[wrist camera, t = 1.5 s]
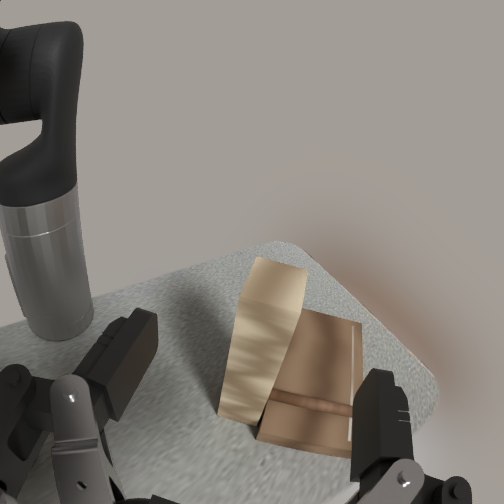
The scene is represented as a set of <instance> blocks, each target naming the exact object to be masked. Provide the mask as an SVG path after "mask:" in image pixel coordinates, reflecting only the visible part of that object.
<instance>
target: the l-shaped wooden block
mask: <svg viewBox="0 0 504 504" xmlns="http://www.w3.org/2000/svg"><path fill="white" fill-rule="evenodd" d="M307 273H308V270H305V269H301V268H298V267H294V266H290V265H286V264H283V263H279V262H275V261H272V260H268V259H264V258H261V257H256V260H255V262H254V264H253V267H252V269H251V271H250V273H249V276H248V278H247V280H246V283H245V285H244V287H243V290H242V292H241V294H240V297H239V302H238V308H237V313H236V318H235V323H234V329H233V334H232V339H231V345H230V350H229V355H228V360H227V366H226V371H225V376H224V382H223V387H222V392H221V398H220V403H219V408H218V414H217V415H218V416H221V417H224V418H227V419H231V420H234V421H237V422H241V423H244V424H248V425H252V426H255V427H256V426H257V424H258V421H259V419H260V417H261V414H262V412H263V409H264V407H265V405H266V402H267V400H268V399H269V400H273V401H277V402H281V403H285V404H289V405H293V406H297V407H302V408H306V409H311V410H315V411H320V412H325V413H330V414H335V415H340V416H346V417H350V418H352V406H350V405H345V404H340V403H335V402H330V401H325V400H321V399H316V398H311V397H307V396H303V395H299V394H294V393H290V392H286V391H282V390H278V389H275V388H272V387H273V385H274V382H275V380H276V377H277V375H278V372H279V370H280V367H281V365H282V362H283V360H284V357H285V354H286V352H287V349H288V346H289V344H290V341H291V338H292V336H293V333H294V330H295V328H296V325H297V322H298V319H299V317H300V314H301V309H302V303H303V298H304V292H305V286H306V280H307Z"/></svg>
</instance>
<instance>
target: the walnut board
mask: <svg viewBox="0 0 504 504" xmlns="http://www.w3.org/2000/svg"><path fill="white" fill-rule="evenodd" d="M362 383H363V355H362V323H358V322H354V321H350V320H346V319H342V318H338V317H334V316H330V315H327V314H323V313H319V312H315V311H311V310H307V309H304V308H302V309H301V314H300V317H299V319H298V322H297V325H296V328H295V330H294V333H293V336H292V338H291V341H290V344H289V346H288V349H287V352H286V354H285V357H284V360H283V362H282V365H281V367H280V370H279V372H278V375H277V377H276V380H275V382H274V385H273V387H272V388H275V389H278V390H282V391H286V392H290V393H294V394H299V395H303V396H307V397H311V398H316V399H321V400H325V401H330V402H335V403H340V404H345V405H350V406H353V400H354V396H355V394H356V392H357V390H358V389H359V387H360V386H361V384H362ZM256 440H258V441H262V442H266V443H271V444H275V445H279V446H283V447H288V448H293V449H297V450H302V451H307V452H313V453H318V454H324V455H330V456H336V457H343V458H350V459H351V452H352V418H350V417H346V416H340V415H335V414H330V413H325V412H320V411H315V410H311V409H306V408H302V407H297V406H293V405H289V404H285V403H281V402H277V401H273V400H269V399H268V400H267V402H266V405H265V407H264V411H263V415H262V419H261V422H260V426H259V430H258V433H257V437H256Z"/></svg>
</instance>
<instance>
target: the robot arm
mask: <svg viewBox="0 0 504 504" xmlns="http://www.w3.org/2000/svg"><path fill="white" fill-rule="evenodd" d="M0 1H1V0H0ZM82 59H83V35H82V32H81V29H80V27H79V25H78V24H77V23H75V22H69V21H65V22H53V23H46V24H38V25H31V26H25V27H19V28H15V29H3V28H0V125H3V124H10V123H18V122H24V121H32V120H39V119H42V123H43V124H42V131H41V134H40V135H39V136H38V137H37V138H36V139H35V140H34V141H33V142H32V143H30V144H29V145H28V146H26V147H24V148H23V149H21V150H19V151H17V152H15V153H13V154H11V155H10V156H8V157H6V158H5V159H3V160H2V161H1V162H0V229H1V233H2V237H3V242H4V245H5V250H6V254H5V260H6V263H7V267H8V270H9V273H10V277H11V280H12V283H13V287H14V289H15V292H16V296H17V298H18V301H19V304H20V307H21V310H22V312H23V315H24V317H26V318H27V320H28V323H29V325H30V327H31V329H32V331H33V332H34V333H35V334H36V335H37V336H39V337H41V338H43V339H46V340H51V341H63V340H67V339H70V338H73V337H75V336H77V335H78V334H80V333H81V332H83V331H84V330H85V329H86V328H87V327H88V326H89V324H90V323H91V321H92V318H93V312H94V310H93V305H92V299H91V294H90V288H89V282H88V276H87V269H86V263H85V256H84V248H83V240H82V232H81V222H80V212H79V201H78V187H77V170H76V115H77V102H78V93H79V85H80V77H81V69H82ZM157 348H158V321H157V314H156V313H153V312H150V311H147V310H144V309H141V308H136V309H135V310H134V311H133V312H132V314H131V315H130V316H129V318H128V319H127V318H124V317H120V318H118V319H116V320H115V321H113V322H112V323H110V324H109V325H108V327H107V328H106V329H105V331H104V332H103V333H102V335H101V336H100V337H99V338H98V340H97V342H96V343H95V344H94V345H93V346H92V348H91V349H90V351H89V352H88V353H87V355H86V356H85V357H84V359H83V360H82V361H81V363H80V364H79V366H78V367H77V368H76V370H75V371H74V372H73V373H72V374H69V375H63V376H61V377H59V378H57V379H56V380H50V379H44V378H39V377H34V376H31V374H30V372H29V370H28V369H27V368H26V367H25V366H23V365H20V364H12V365H9V366H7V367H5V368H4V369H3V370H2V371H1V372H0V504H19V503H18V502H17V500H16V498H17V496H18V494H19V492H20V490H21V487H22V485H23V483H24V481H25V479H26V477H27V475H28V473H29V471H30V469H31V467H32V465H33V463H34V461H35V459H36V457H37V455H38V453H39V451H40V450H41V448H42V446H43V444H44V442H45V440H46V438H47V436H48V435H49V433H50V432H52V433H54V439H55V446H53V447H52V450H51V455H52V462H53V468H54V474H55V479H56V484H57V489H58V494H59V498H60V503H61V504H179V503H176V502H173V501H170V500H167V499H164V498H161V497H159V496H156V495H153V494H152V497H151V499H146V498H133V499H126V496H125V493H124V490H123V487H122V484H121V482H120V479H119V477H118V474H117V472H116V469H115V465H114V462H113V458H112V454H111V450H110V446H109V442H108V438H107V434H106V430H105V424H106V423H107V421H108V419H109V418H110V419H113V420H115V421H117V422H118V421H119V419H120V417H121V416H122V414H123V412H124V410H125V408H126V406H127V405H128V403H129V401H130V399H131V397H132V395H133V394H134V392H135V390H136V388H137V386H138V385H139V383H140V381H141V379H142V377H143V376H144V374H145V372H146V370H147V369H148V367H149V365H150V363H151V361H152V360H153V358H154V356H155V354H156V351H157ZM408 411H409V408H408V400H407V397H406V395H405V393H404V391H403V390H402V388H401V387H398V386H395V382H394V375H393V372H392V371H387V370H381V369H375V368H373V369H371V371H370V372H369V374H368V375H367V377H366V378H365V380H364V381H363V383H362V384H361V386H360V387H359V389H358V390H357V392H356V394H355V396H354V400H353V406H352V452H351V473H350V482H360V489H359V490H358V491H357V492H356V493H355V494H354V495H353V496H352V497H351V498H350V499H349V500H348V501H347V502H346V503H345V504H472V492H471V487H470V485H469V483H468V482H467V481H466V480H465V479H464V478H462V477H459V476H454V477H451V478H449V479H448V480H446V481H442V480H439V479H436V478H433V477H430V476H428V475H426V474H424V472H423V470H422V468H421V466H420V465H419V464H418V463H417V462H415V461H414V456H413V445H412V434H411V424H410V423H409V422H410V416H409V413H408Z"/></svg>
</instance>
